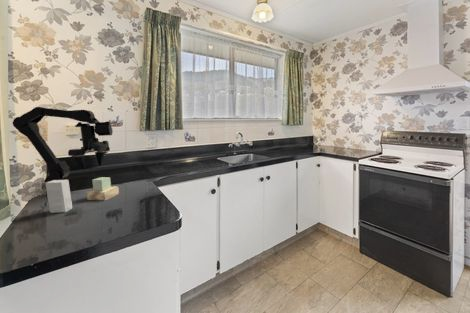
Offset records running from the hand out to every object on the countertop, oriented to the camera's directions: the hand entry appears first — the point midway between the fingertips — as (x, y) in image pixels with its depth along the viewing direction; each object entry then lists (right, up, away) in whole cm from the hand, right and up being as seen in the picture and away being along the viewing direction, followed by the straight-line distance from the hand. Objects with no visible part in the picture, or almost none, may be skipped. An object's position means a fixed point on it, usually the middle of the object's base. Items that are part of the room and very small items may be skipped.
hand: (92, 167), depth 113 cm
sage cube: (+10, -10, -9) cm, 16 cm away
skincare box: (+3, -16, -24) cm, 29 cm away
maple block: (+10, -14, -8) cm, 19 cm away
